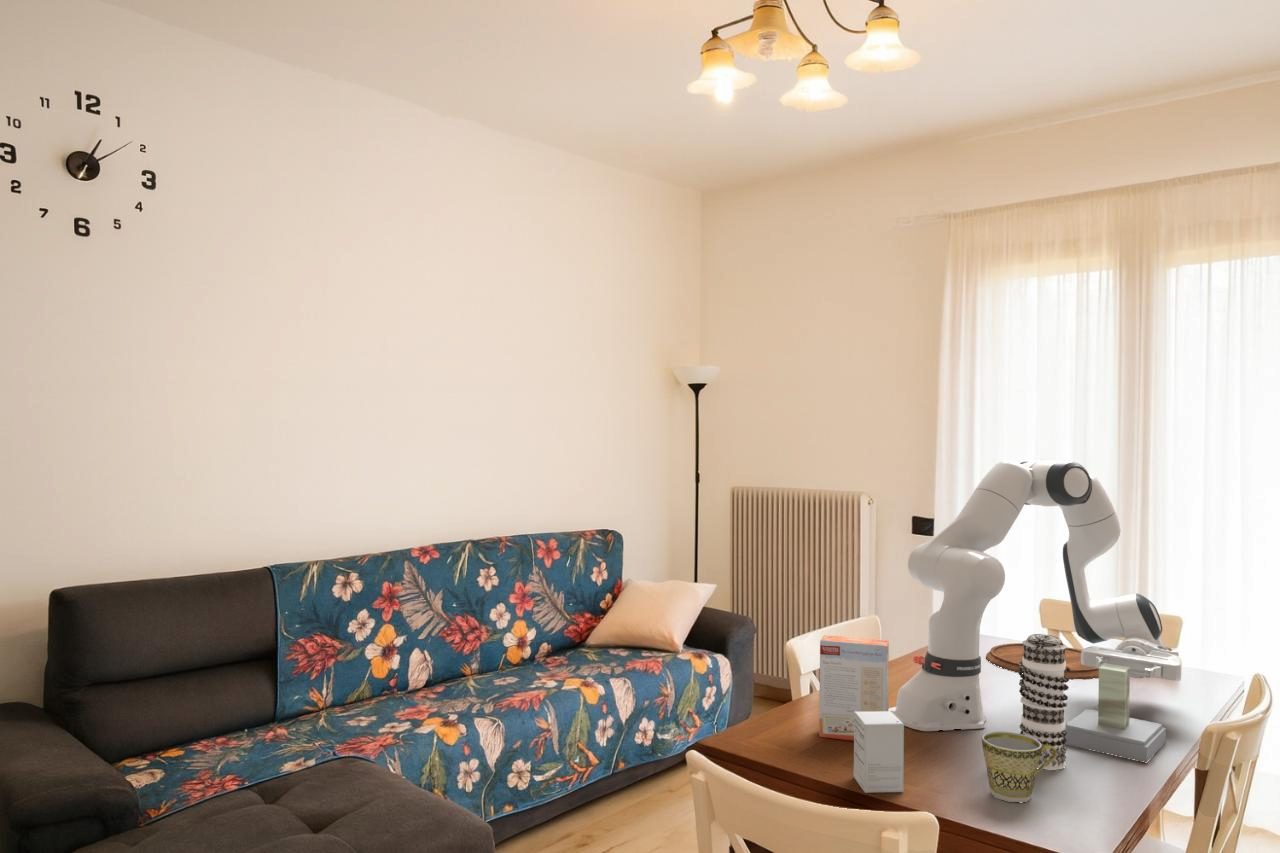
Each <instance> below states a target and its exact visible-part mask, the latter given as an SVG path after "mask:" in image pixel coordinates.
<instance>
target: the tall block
mask: <svg viewBox="0 0 1280 853" xmlns="http://www.w3.org/2000/svg"><path fill="white" fill-rule="evenodd" d="M1130 678H1131V677H1130V667H1125V666H1119V665H1112V664H1106V663H1103V664H1102V665H1101V666H1100V667H1099V678H1098V701H1097V702H1098V709H1097V711H1098V725H1102V726H1107V727H1112V728H1117V729H1122V730H1125V729H1126V728H1127V726H1128V725H1129V718H1130V699H1131V698H1130V696H1131V695H1130V690H1131V689H1130V688H1131V687H1130V686H1131V683H1130V682H1131V679H1130Z"/></svg>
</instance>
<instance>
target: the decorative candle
mask: <svg viewBox="0 0 1280 853" xmlns="http://www.w3.org/2000/svg"><path fill="white" fill-rule="evenodd" d="M1021 643H1023V644H1024V649H1023V653H1024V656H1023V658H1022V661H1020V662H1019V665H1018V666H1019V668H1021V669H1020V672H1019V673H1018V675H1019V677H1020V678H1021V679H1019V682H1018V684H1019V686H1020V688H1019V690H1018V691H1019V693H1020V696H1021V697H1020V703H1021V704H1022V714H1021V723H1020V725H1019V728H1020V730H1021V731H1020V732H1019V734H1023V735H1027V736H1030V737H1032V738H1034V739H1036V740H1038V741H1039V742H1040V743H1041V744H1042V745H1045V744H1047V745H1051V746H1053V747H1054V748H1055V750H1056V757H1055V759H1054V760H1053V761H1052V762H1050V763H1049V764H1047V765H1046V766H1045V767H1044V768H1043V769H1046V770H1045V771H1051V770H1056V769H1062V768H1064V767H1065V766H1067V765H1066V764H1067V763H1066V761H1067V758H1068V757H1067V756H1066V753H1067V751H1068V749H1067V747H1066V744H1065V743H1066V741H1067V740H1066V739H1065V737H1064V736H1065V735H1066V734H1067V731H1066V730H1065V726H1066V720H1065V710H1066V709H1067V707H1068V706H1067V705H1068V704H1067V702H1065V701H1067V700H1068V699H1069V698H1068V697H1069V696H1068V695H1067V694H1065V691H1067V690H1069V685H1067V683H1068V682H1069V681H1070V679H1069V678H1068V677H1066V676H1064V671H1066V672H1067V671H1070V668H1068V667H1066V661H1065V648H1068V646H1067V645H1066V644H1064V642H1063V641H1062V639H1061V638H1059V637H1057V636H1056V635H1052V634H1051V635H1050V634H1045V633H1033V634H1030V635H1029V636H1028V637H1027V639H1026V640H1022V642H1021ZM1022 673H1023V674H1022ZM1053 755H1054V751H1053V749H1046V750H1044V751H1043V752H1042V753H1041V755H1040V759H1039V764H1038V768H1040V767H1041V766H1042V765H1043V764H1044V763H1045V762H1046V761H1048V760H1049V759H1051V758H1052V757H1053ZM1065 768H1066V767H1065ZM1065 768H1064V769H1065ZM1047 769H1048V770H1047ZM1062 770H1063V769H1062ZM1056 771H1057V770H1056Z"/></svg>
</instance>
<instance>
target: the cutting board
mask: <svg viewBox="0 0 1280 853" xmlns="http://www.w3.org/2000/svg"><path fill="white" fill-rule="evenodd" d="M1023 649H1024V644H1023V643H1022V642H1019V643H1004V644H998V645H995V646H993V647H992V648H990V650H989V651H988V652H987V653H986V656H985V658H987V659H986V660H989V661H990V662H991V663H993V664H995V665H997V666H999V667H998V668H1000V667H1002V668H1001V669H1003V668H1005V669H1008V670H1007V671H1009V670H1011V671H1010V672H1012V671H1015V672H1014V673H1017V672H1020V669H1021V668H1019V666H1018V665H1019V662H1020V661H1022V658H1023V656H1024V653H1023ZM1081 651H1082V650H1080V649H1076V648H1072V647H1067V648H1065V661H1066V667H1068V668H1070V671H1067V672H1066V671H1064V676H1066V677H1068V678H1069V680H1070V679H1071V680H1073V679H1083V680H1094V679H1093V678H1095V679H1099V669H1098V668H1095V667H1089V666H1085V665H1083V664H1081ZM989 661H988V662H989ZM990 662H989V663H990ZM991 663H990V664H991ZM993 664H992V665H993ZM995 665H994V666H995ZM997 666H996V667H997ZM1005 669H1004V670H1005ZM1071 680H1070V681H1071ZM1073 681H1074V680H1073Z"/></svg>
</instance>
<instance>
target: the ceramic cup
mask: <svg viewBox="0 0 1280 853" xmlns="http://www.w3.org/2000/svg"><path fill="white" fill-rule="evenodd" d="M981 745H982V750H983V751H982V752H983V757H984V760H985V767H986V774H987V778H988V779H987V780H988V786H989V787H988V788H989V792H990V794H991V793H992V794H993V795H994V796H993V795H992V794H991V795H992V796H993V797H994V798H995V797H996V798H999V799H1002V800H1005V801H1008V802H1007V803H1009V802H1022V803H1021V804H1024V803H1023V802H1026V803H1028V802H1029V801H1031V800H1032V798H1033V793H1034V786H1035V782H1036V777H1037V775H1038V773H1039V772H1041V771H1043V770H1042V769H1043V768H1044V767H1045V766H1046V765H1047V764H1049V763H1050V762H1052V761H1053V760H1054V759H1055V757H1056V750H1055V748H1054V747H1053V746H1051V745H1047V744H1045V745H1042V744H1041V743H1040V742H1039V741H1038V740H1036V739H1034V738H1032V737H1030V736H1027V735H1023V734H1020V732H1013V731H1003V730H1002V731H999V730H997V731H989V732H986V733H983V735H982V736H981ZM1046 749H1053V751H1054V755H1053V757H1052V758H1051V759H1049V760H1048V761H1046V762H1045V763H1044V764H1043V765H1042V766H1041V767H1040V768H1039V769H1037V768H1038V764H1039V759H1040V755H1041V753H1042V752H1043V751H1044V750H1046ZM996 798H995V799H996ZM999 799H998V800H999ZM1030 799H1031V800H1030ZM1002 800H1001V801H1002ZM1028 800H1029V801H1028ZM1005 801H1004V802H1005ZM1027 801H1028V802H1027Z"/></svg>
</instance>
